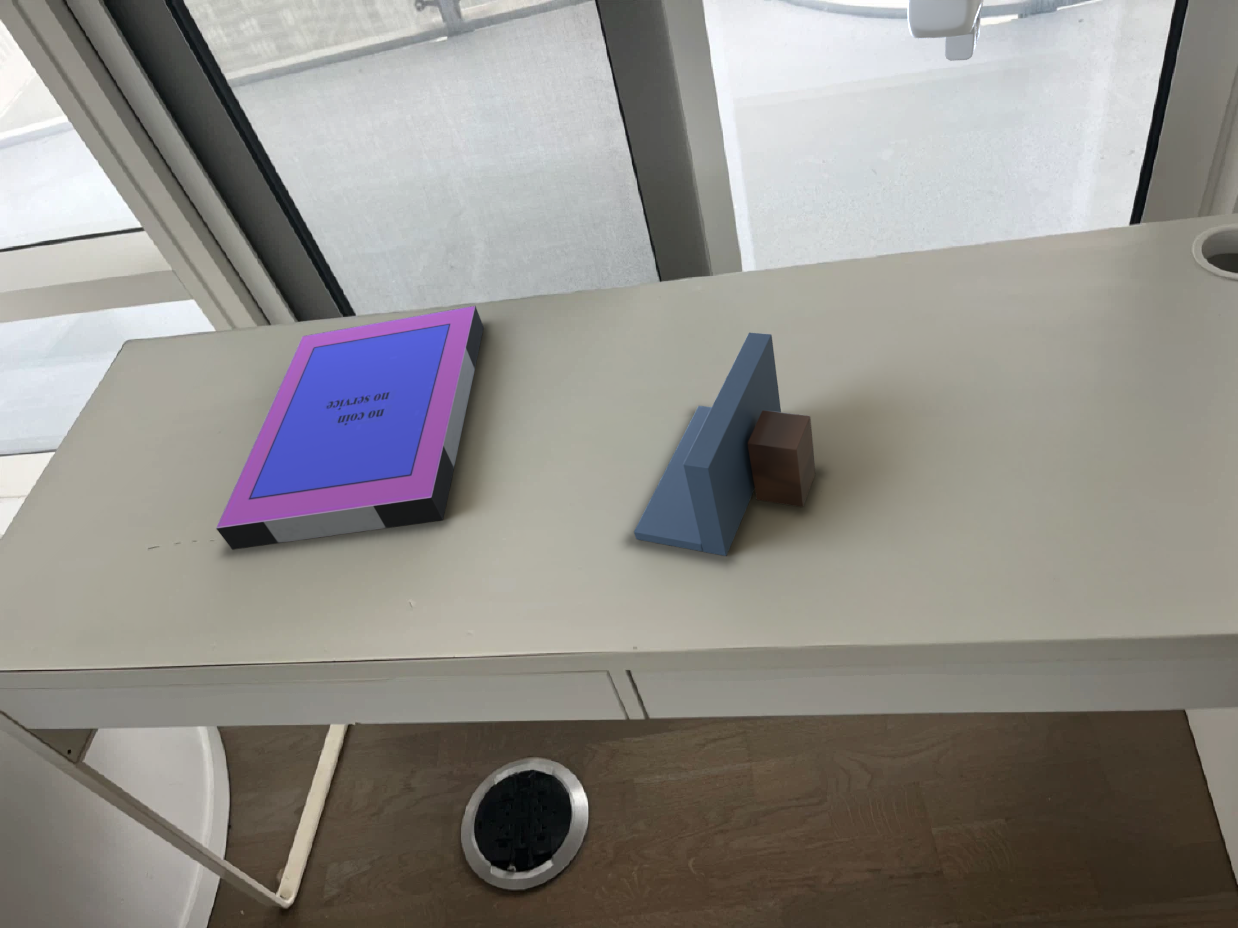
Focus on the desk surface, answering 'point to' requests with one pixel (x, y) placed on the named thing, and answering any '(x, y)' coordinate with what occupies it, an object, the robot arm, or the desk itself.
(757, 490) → the walnut block
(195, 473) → the desk surface
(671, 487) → the bookend
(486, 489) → the desk surface
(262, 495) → the book
